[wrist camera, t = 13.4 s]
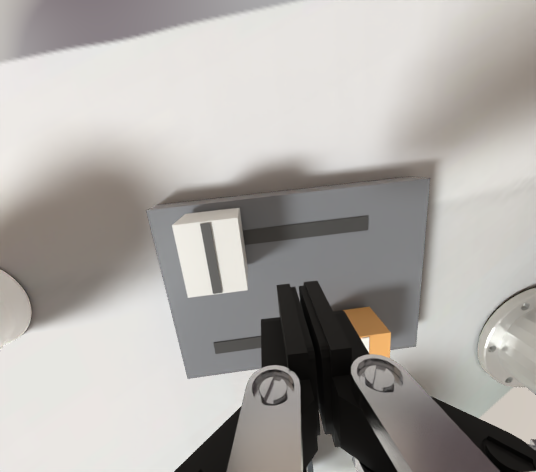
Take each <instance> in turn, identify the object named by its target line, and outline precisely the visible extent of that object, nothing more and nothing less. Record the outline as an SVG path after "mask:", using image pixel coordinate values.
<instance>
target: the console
mask: <svg viewBox="0 0 536 472" xmlns="http://www.w3.org/2000/svg"><path fill="white" fill-rule="evenodd" d="M429 186H430V178H421V177H402V178H393V179H384V180H375V181H366V182H357V183H348V184H339V185H330V186H321V187H313V188H304V189H295V190H286V191H277V192H268V193H259V194H250V195H241V196H232V197H223V198H214V199H206V200H197V201H188V202H179V203H170V204H161V205H156V206H154V207H152V208H150V209H148V210H146V212H147V216H148V220H149V224H150V228H151V232H152V236H153V240H154V244H155V248H156V252H157V256H158V260H159V264H160V269H161V273H162V277H163V281H164V285H165V289H166V293H167V297H168V301H169V305H170V309H171V313H172V317H173V321H174V325H175V329H176V333H177V338H178V342H179V346H180V350H181V354H182V358H183V362H184V366H185V370H186V374H187V378H188V379H190V378H197V377H204V376H211V375H218V374H225V373H232V372H239V371H246V370H253V369H260V368H262V365H261V319H267V318H276V317H280V315H279V305H278V295H277V285H281V284H290V287H296V291H297V294H298V297H299V301H300V295H299V286H303V284H304V282H308V281H318V283H319V285H320V287H321V289H322V291H323V293H324V295H325V296H326V298H327V300H328V302H329V304H330V306H331V308H332V310H333V311H339V310H348V309H355V308H363V307H370V308H371V309H372V310H373V311H374V313H375V314H376V315H377V316H378V317H379V319H380V320H381V321H382V322H383V323H384V325H385V326H386V327H387V328H388V330H389V331H390V332H391V342H390V350H395V349H402V348H409V347H416V340H417V329H418V317H419V305H420V293H421V281H422V269H423V257H424V245H425V233H426V222H427V210H428V198H429ZM232 208H240V215H241V222H242V230H243V237H244V244H245V252H246V259H247V266H248V290H245V291H237V292H230V293H222V294H214V295H206V296H198V297H191V298H188V296H187V292H186V287H185V283H184V278H183V274H182V269H181V264H180V260H179V255H178V251H177V246H176V242H175V237H174V233H173V228H172V225H173V224H174V223H175V222H176V221H178V220H179V219H180V218H181V217H182V216H184V215H185V214H188V213H197V212H206V211H214V210H223V209H232Z"/></svg>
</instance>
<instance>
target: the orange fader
mask: <svg viewBox="0 0 536 472" xmlns="http://www.w3.org/2000/svg"><path fill="white" fill-rule="evenodd" d="M343 311H344V312H345V313H346V315H347V316H348V318H349V320H350V322H351V323H352V325H353V327H354V328H355V330H356V332H357V333H358V335H359V337H360V338H361V340H362V342H363V344H364V345H365V347H366V349H367V350H368V352H369V354H375V355H382V356H385V357H388V358H390V342H391V332H390V331H389V330H388V328H387V327H386V326H385V325H384V323H383V322H382V321H381V320H380V319H379V317H378V316H377V315H376V314H375V313H374V311H373V310H372V309H371V308H370V307H363V308H355V309H348V310H343Z"/></svg>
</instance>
